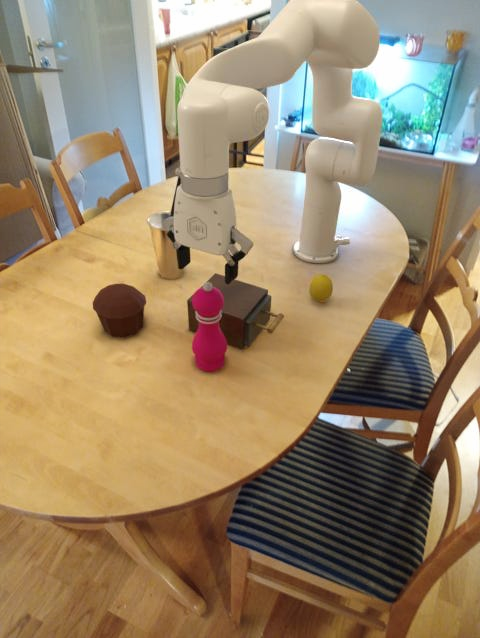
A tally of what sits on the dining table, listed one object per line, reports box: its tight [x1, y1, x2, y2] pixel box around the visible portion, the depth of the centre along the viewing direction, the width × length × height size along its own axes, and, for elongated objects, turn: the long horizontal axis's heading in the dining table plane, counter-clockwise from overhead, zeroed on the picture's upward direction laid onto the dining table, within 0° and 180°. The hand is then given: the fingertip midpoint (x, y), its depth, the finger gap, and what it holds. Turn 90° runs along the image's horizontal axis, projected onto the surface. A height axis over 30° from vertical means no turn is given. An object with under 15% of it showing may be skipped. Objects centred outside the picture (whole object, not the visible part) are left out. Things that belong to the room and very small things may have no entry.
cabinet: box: [186, 273, 269, 351], centre depth 106 cm, size 14×12×9 cm
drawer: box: [244, 294, 285, 348], centre depth 104 cm, size 17×11×7 cm, turn 62°
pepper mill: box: [191, 281, 228, 373], centre depth 93 cm, size 7×7×20 cm
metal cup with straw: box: [146, 176, 185, 280], centre depth 115 cm, size 11×11×30 cm
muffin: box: [92, 283, 147, 339], centre depth 105 cm, size 12×11×10 cm
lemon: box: [308, 273, 334, 303], centre depth 114 cm, size 6×6×8 cm
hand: (207, 272), depth 85 cm, fingers open, 9 cm apart
